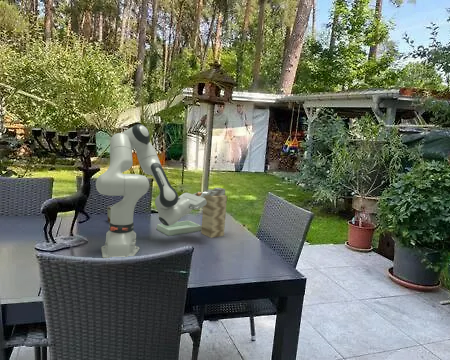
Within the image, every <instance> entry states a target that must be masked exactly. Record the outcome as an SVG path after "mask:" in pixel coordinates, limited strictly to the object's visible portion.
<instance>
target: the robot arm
mask: <svg viewBox="0 0 450 360" xmlns="http://www.w3.org/2000/svg"><path fill="white" fill-rule="evenodd" d="M150 141H151V140H150V131H149V130H148V127H147V126H145V125H144V124H141V123H137V124H135V125H133V126H131V127H130V128H128V129H126V130H124V131H123V132H117V133H114V134H113V135H112V136H111V138H110V142H109V143H110V144H109V166H108V168H107V170H105V172H104V173H102V174H101V175H99V176H98V177H97V178H96V181H95V188H96V190H97V192H98V193H99V194H100V195H104V196H108V197H109V196H110V197H113V196H114V197H115V196H116V197H117V196H118V197H120V196H121V197H123V198H122V199H121V200H120V201H119V202H115V203H114V204H113V205H112V207H111V216H110V223H109V222H108V223H109V224H108V231H107V232H106V234H105V241H104V245H103V246H101V247H100V251H101V256H102V257H101V258H102V259H104V258H110V257H128V256H134V257H135V256H136V255H137V254H138V252H139V251H140V247H139V246H138V245H137V233H136V231H134V226H135V225H134V212H135V208H136V206H137V205H136V204H137V203H138V201H139V200H140V199H141V198H142V197H143V196H144V195H145V194H147V193H148V191H149V189H150V181H149V178H147V176H145V175H143V174H138V173H125V172H127V171H128V170H129V169H131V168H132V166H133V165H134V164H133V163H134V162H133V161H134V160H133V151H134V152H136V157H137V160H138V163H139V166H140V168H141V170H142V171H143V173H144V174H146V175H149V176H152V177H153V178H154V179H155V182H156V185H157V187H158V189H159V194H158V195H157V196H156V198H155V200H154V205H155V207H156V209H157V211H158V219H159V222H160V224H164V225H166V226H170V225H172V224H174V223H176V222H179V221H180V220H181V218H183V217H185V216H187V215H188V214H190V213H191V212H192V211H193V210H194V211H195V210H200V209H201V208H202V209H203V206H205V205H206V204H207V201H206V199H205V198H204V196H205V193H202V194H201V196H196V193H199V192H200V191H197V192H195V193H190V192H184V193H182V194H181V195H179V194H178V192H177V190H176V189H174V187H173V186H172V185H171V182H170V180H169V179H168V177H167V174H166V171H165V170H164V168H163V167H162V164H161V161H160V158H159V156H158V154H157V151H156V150H155V147H154V146H153V145H152V143H151V142H150Z"/></svg>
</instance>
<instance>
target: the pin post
mask: <svg viewBox="0 0 450 360" xmlns="http://www.w3.org/2000/svg"><path fill="white" fill-rule="evenodd" d="M217 190H218V191H217ZM208 191H211V195H209V196H204V197H203V198H205V199H206V201H207V204H206V205H205V206H203V207H202V216H201V218H202V219H201V226H202V228H201V231H200V234H201V235H204V236H206V237H208V238H210V239H213V238H218V237H224V236H225V225H226V214H227V213H226V212H227V200H228V195H226V189H225V188H221V187H214V189H206V191H205V192H208Z"/></svg>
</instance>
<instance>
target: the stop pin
mask: <svg viewBox="0 0 450 360" xmlns="http://www.w3.org/2000/svg"><path fill="white" fill-rule="evenodd" d="M217 191H218V190H217ZM198 192H199V193H198ZM198 192H195V193H196V196H201V194H202V193H205V196H209V195H211V191H208V192H206V191H202V192H201V191H198Z"/></svg>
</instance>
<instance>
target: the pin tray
mask: <svg viewBox="0 0 450 360" xmlns="http://www.w3.org/2000/svg"><path fill="white" fill-rule="evenodd" d="M201 229H202V224H201V225H200V224H198V223H197V222H194V221H191V220H182V221H180V220H179V221H177V222H176V223H174V224H172V225H170V226H166V225H164V224H162V223H157V224H156V231H158V232H161V233H162V234H164V235H165V236H168V237H171V236H178V235H183V234H192V233H199V232H201ZM198 231H199V232H198Z"/></svg>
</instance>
